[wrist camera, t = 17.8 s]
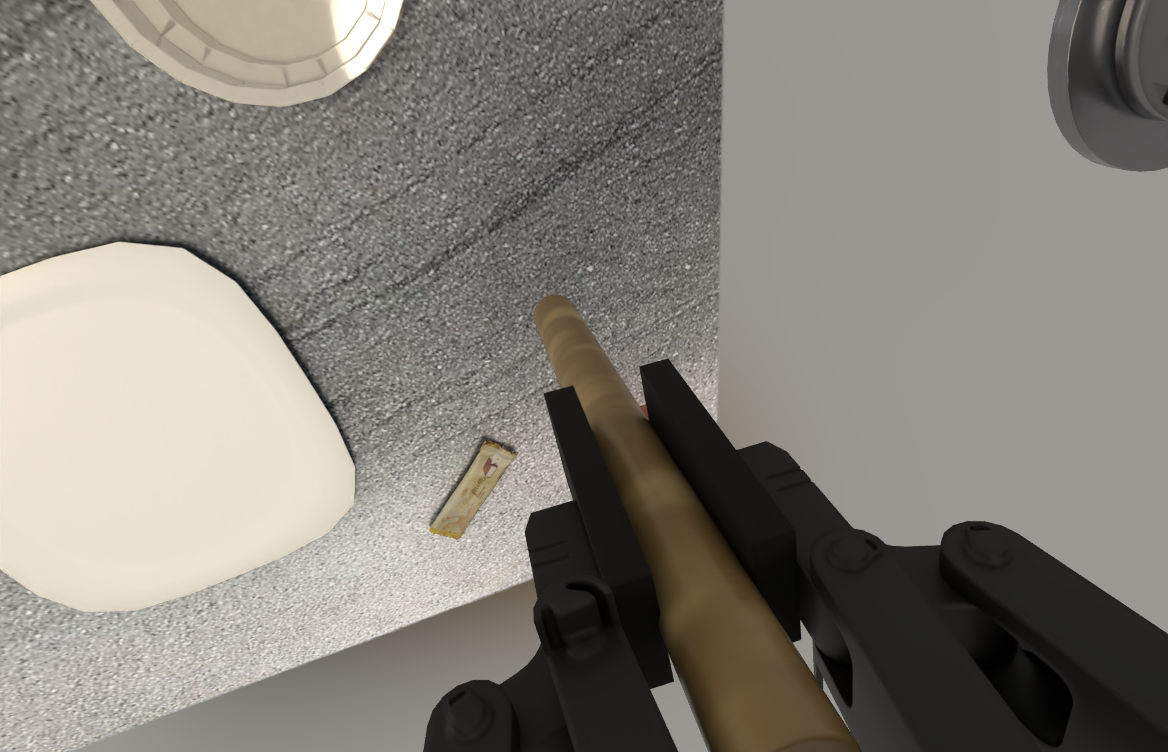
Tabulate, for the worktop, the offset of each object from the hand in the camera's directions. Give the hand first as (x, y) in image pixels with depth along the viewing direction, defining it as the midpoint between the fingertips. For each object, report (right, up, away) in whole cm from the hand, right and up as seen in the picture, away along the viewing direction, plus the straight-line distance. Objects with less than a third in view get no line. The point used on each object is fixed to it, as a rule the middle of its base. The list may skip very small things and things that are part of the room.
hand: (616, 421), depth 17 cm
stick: (-2, +4, +11) cm, 11 cm away
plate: (-31, -3, +28) cm, 42 cm away
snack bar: (-10, -8, +36) cm, 38 cm away
